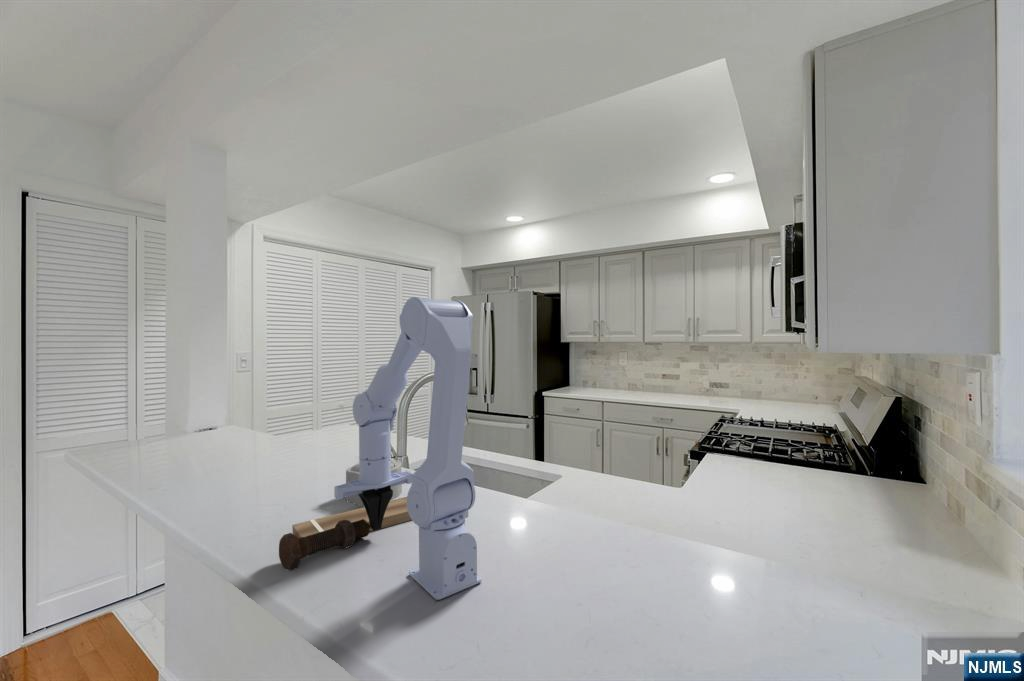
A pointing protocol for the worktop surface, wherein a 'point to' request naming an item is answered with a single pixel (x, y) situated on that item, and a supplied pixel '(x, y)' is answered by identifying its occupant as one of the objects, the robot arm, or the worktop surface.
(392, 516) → the walnut board
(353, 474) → the lumpy-topped squat cylinder
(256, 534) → the worktop surface
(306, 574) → the worktop surface
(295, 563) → the bolt
